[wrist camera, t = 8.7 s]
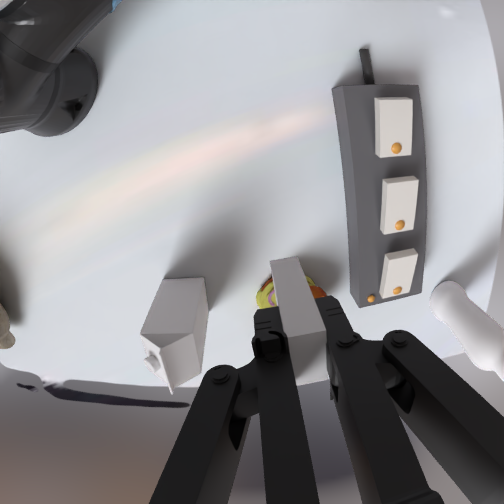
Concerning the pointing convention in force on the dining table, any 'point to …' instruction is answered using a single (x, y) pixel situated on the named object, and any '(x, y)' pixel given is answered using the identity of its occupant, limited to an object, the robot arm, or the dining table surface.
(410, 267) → the rocker
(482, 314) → the bottle
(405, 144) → the rocker
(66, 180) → the dining table surface
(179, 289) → the milk carton
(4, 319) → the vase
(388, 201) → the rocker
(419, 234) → the power strip
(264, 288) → the cheeseburger
